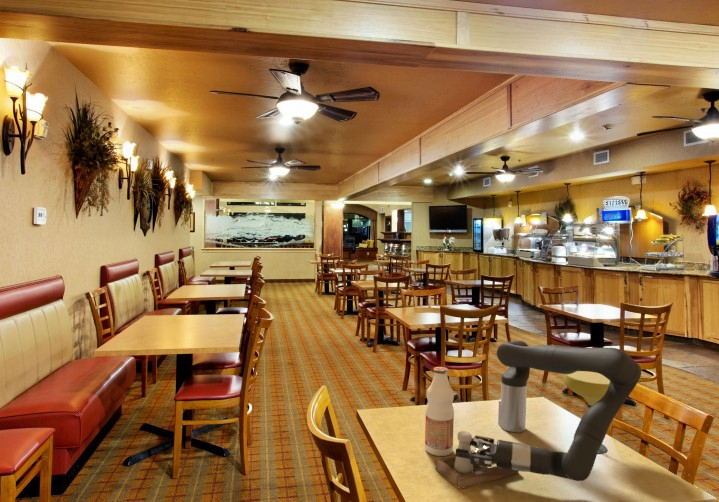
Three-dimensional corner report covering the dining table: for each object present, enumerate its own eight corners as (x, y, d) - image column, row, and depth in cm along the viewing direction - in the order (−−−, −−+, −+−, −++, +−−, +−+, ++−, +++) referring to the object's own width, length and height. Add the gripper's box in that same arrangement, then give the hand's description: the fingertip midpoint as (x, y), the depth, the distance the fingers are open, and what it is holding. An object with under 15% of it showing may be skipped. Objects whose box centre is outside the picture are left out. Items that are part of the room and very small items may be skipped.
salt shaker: (473, 481, 133) (474, 438, 132) (453, 478, 134) (455, 435, 133) (472, 471, 138) (474, 429, 138) (453, 468, 140) (455, 427, 139)
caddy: (435, 469, 139) (435, 459, 139) (491, 455, 149) (491, 446, 149) (459, 489, 128) (459, 478, 128) (518, 473, 138) (518, 463, 138)
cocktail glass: (549, 439, 162) (552, 370, 161) (586, 431, 169) (589, 366, 168) (592, 462, 145) (595, 387, 144) (631, 453, 152) (634, 381, 151)
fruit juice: (433, 458, 146) (435, 374, 145) (419, 445, 154) (421, 365, 154) (458, 454, 149) (460, 371, 148) (443, 442, 158) (445, 363, 157)
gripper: (514, 433, 138) (460, 424, 143) (513, 454, 124) (454, 444, 130) (513, 457, 138) (460, 447, 143) (512, 480, 125) (453, 469, 130)
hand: (457, 446), depth 137 cm, fingers open, 8 cm apart
